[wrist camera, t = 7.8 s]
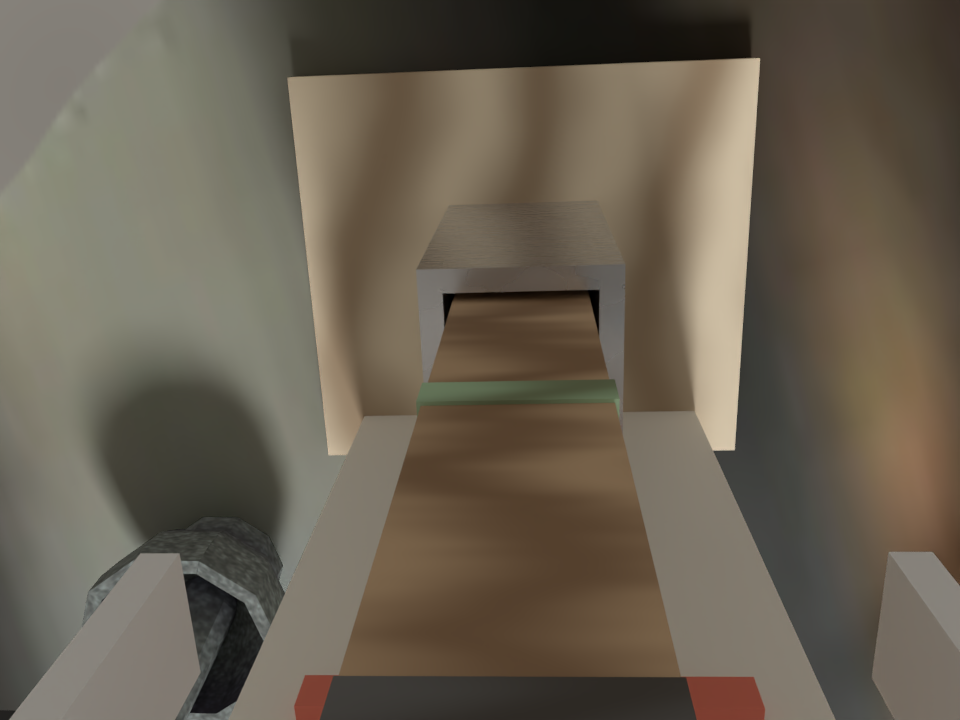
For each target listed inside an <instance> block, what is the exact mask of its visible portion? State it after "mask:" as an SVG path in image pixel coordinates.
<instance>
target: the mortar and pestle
mask: <svg viewBox="0 0 960 720" xmlns="http://www.w3.org/2000/svg"><path fill="white" fill-rule="evenodd" d="M140 553H179V554H180V559H181V565H182V570H183V576H184V582H185V587H186V593H187V599H188V604H189V610H190V615H191V621H192V627H193V632H194V638H195V644H196V649H197V655H198V660H199V666H200V672H201V673H200V675H199V676H198V678H197V680H196V682H195V684H194V686H193V687H192V689H191V691H190V693H189V695H188V697H187V699H186V700H185V702H184V704H183V706H182V708H181V710H180V711H179V713H178V715H177V717H176V719H175V720H229V717H230V715H231V713H232V711H233V708H234V706H235V704H236V702H237V700H238V697H239V695H240V693H241V691H242V688H243V686H244V684H245V682H246V679H247V677H248V675H249V673H250V671H251V668H252V666H253V664H254V662H255V659H256V657H257V655H258V653H259V650H260V648H261V646H262V644H263V642H264V639H265V637H266V635H267V633H268V630H269V628H270V626H271V624H272V621H273V619H274V617H275V615H276V613H277V610H278V608H279V606H280V604H281V601H282V599H283V597H284V595H285V593H284V591H283V588H282V586H281V584H280V582H279V578H280V575H281V571H282V567H283V565H282V563H281V561H280V559H279V557H278V554H277V552H276V550H275V548H274V546H273V544H272V542H271V540H270V538H269V536H268V535H266V534H264V533H263V532H261V531H259V530H258V529H256V528H255V527H253V526H251V525H250V524H248V523H246V522H245V521H243V520H242V519H240V518H238V517H202V518H201V519H199V520H198V521H197V522H195V523H194V524H192V525H191V526H189V527H188V528H187V529H177V530H170V531H164V532H160V533H159V534H157V535H156V536H154V537H153V538H152V539H150V540H149V541H147V542H146V543H145V544H143V545H142V546H140V547H139V548H137V549H136V550H135V551H133V552H132V553H130V554H129V555H128V556H126V557H125V558H123V559H122V560H120V561H119V562H118V563H117V564H115V565H114V566H113V567H112V568H110V569H109V570H108V571H107V572H106V573H104V574H103V575H102V576H101V577H100V578H99V579H98V581H97V582H96V583H95V584H94V586H93V587H92V588H91V589H90V590H89V592H88V596H87V601H86V607H85V612H84V618H83V624H82V627H83V626H84V624H85V623H86V622H87V620H88V619H89V618H90V617H91V615H92V614H93V613H94V612H95V610H96V609H97V608H98V607H99V605H100V604H101V603H102V601H103V600H104V599H105V598H106V596H107V595H108V594H109V593H110V591H111V590H112V589H113V588H114V586H115V585H116V584H117V583H118V581H119V580H120V579H121V577H122V576H123V575H124V574H125V572H126V571H127V570H128V569H129V567H130V566H131V565H132V564H133V562H134V561H135V560H136V558H137V557H138V556H139V555H140Z"/></svg>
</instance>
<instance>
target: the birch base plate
mask: <svg viewBox="0 0 960 720" xmlns="http://www.w3.org/2000/svg"><path fill="white" fill-rule="evenodd" d="M759 68H760V58H735V59H711V60H686V61H662V62H638V63H614V64H589V65H565V66H541V67H516V68H492V69H468V70H444V71H419V72H395V73H371V74H347V75H322V76H298V77H289V78H287V79H288V88H289V98H290V107H291V116H292V125H293V134H294V143H295V152H296V161H297V171H298V180H299V189H300V198H301V207H302V216H303V225H304V234H305V244H306V253H307V262H308V271H309V280H310V289H311V298H312V307H313V317H314V326H315V335H316V344H317V353H318V362H319V371H320V380H321V390H322V399H323V408H324V417H325V426H326V435H327V444H328V453H329V455H347V454H348V452H349V450H350V448H351V445H352V443H353V441H354V439H355V436H356V434H357V432H358V430H359V427H360V425H361V423H362V421H363V419H364V416H400V415H417V408H416V400H417V397H418V394H419V391H420V388H421V385H422V383H424V382H423V367H422V352H421V337H420V322H419V307H418V292H417V277H416V269H417V267H418V265H419V263H420V261H421V259H422V257H423V255H424V253H425V251H426V249H427V247H428V245H429V243H430V241H431V239H432V237H433V236H434V234H435V232H436V230H437V228H438V226H439V224H440V222H441V220H442V218H443V216H444V214H445V212H446V210H447V208H448V206H449V205H473V204H506V203H538V202H570V201H598V203H599V206H600V208H601V210H602V212H603V215H604V217H605V219H606V221H607V224H608V226H609V228H610V230H611V233H612V235H613V237H614V239H615V242H616V244H617V246H618V248H619V251H620V253H621V255H622V257H623V260H624V262H625V322H624V381H623V412H658V411H695V413H696V415H697V417H698V419H699V421H700V424H701V426H702V428H703V430H704V432H705V435H706V437H707V439H708V441H709V443H710V445H711V448H712V450H735V436H736V421H737V405H738V390H739V375H740V359H741V344H742V329H743V313H744V298H745V283H746V267H747V252H748V237H749V221H750V206H751V191H752V175H753V160H754V145H755V129H756V114H757V99H758V83H759Z"/></svg>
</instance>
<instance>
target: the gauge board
mask: <svg viewBox="0 0 960 720" xmlns="http://www.w3.org/2000/svg"><path fill="white" fill-rule="evenodd" d="M416 420H417V415H400V416H364V419H363V421H362V423H361V425H360V427H359V430H358V432H357V434H356V436H355V439H354V441H353V443H352V445H351V448H350V450H349V452H348V454H347V456H346V459H345V461H344V463H343V465H342V468H341V470H340V472H339V474H338V477H337V479H336V481H335V483H334V485H333V488H332V490H331V492H330V494H329V497H328V499H327V501H326V503H325V506H324V508H323V510H322V512H321V514H320V517H319V519H318V521H317V523H316V526H315V528H314V530H313V532H312V535H311V537H310V539H309V541H308V543H307V546H306V548H305V550H304V552H303V555H302V557H301V559H300V561H299V564H298V566H297V568H296V570H295V572H294V575H293V577H292V579H291V581H290V584H289V586H288V588H287V590H286V593H285V595H284V597H283V599H282V601H281V604H280V606H279V608H278V610H277V613H276V615H275V617H274V619H273V621H272V624H271V626H270V628H269V630H268V633H267V635H266V637H265V639H264V642H263V644H262V646H261V648H260V650H259V653H258V655H257V657H256V659H255V662H254V664H253V666H252V668H251V671H250V673H249V675H248V677H247V679H246V682H245V684H244V686H243V688H242V691H241V693H240V695H239V697H238V700H237V702H236V704H235V706H234V708H233V711H232V713H231V715H230V717H229V720H320V717H321V714H322V710H323V707H324V704H325V701H326V698H327V694H328V691H329V688H330V685H331V682H332V678H333V676H339V672H340V669H341V666H342V663H343V659H344V656H345V653H346V649H347V646H348V643H349V640H350V636H351V633H352V630H353V626H354V623H355V620H356V617H357V613H358V610H359V607H360V603H361V600H362V597H363V594H364V590H365V587H366V584H367V580H368V577H369V574H370V571H371V567H372V564H373V561H374V557H375V554H376V551H377V548H378V544H379V541H380V538H381V534H382V531H383V528H384V525H385V521H386V518H387V515H388V512H389V508H390V505H391V502H392V498H393V495H394V492H395V489H396V485H397V482H398V479H399V475H400V472H401V469H402V466H403V462H404V459H405V456H406V452H407V449H408V446H409V443H410V439H411V436H412V433H413V429H414V426H415V423H416ZM623 438H624V442H625V446H626V450H627V455H628V459H629V463H630V467H631V471H632V475H633V479H634V484H635V488H636V492H637V496H638V500H639V504H640V509H641V513H642V517H643V521H644V525H645V529H646V533H647V538H648V542H649V546H650V550H651V554H652V558H653V562H654V567H655V571H656V575H657V579H658V583H659V587H660V592H661V596H662V600H663V604H664V608H665V612H666V616H667V621H668V625H669V629H670V633H671V637H672V641H673V646H674V650H675V654H676V658H677V662H678V666H679V670H680V675H681V677H686V679H687V683H688V687H689V691H690V695H691V699H692V703H693V707H694V711H695V715H696V719H697V720H835V718H834V716H833V713H832V711H831V709H830V707H829V705H828V702H827V700H826V698H825V696H824V694H823V692H822V689H821V687H820V685H819V683H818V681H817V678H816V676H815V674H814V672H813V670H812V667H811V665H810V663H809V661H808V659H807V656H806V654H805V652H804V650H803V648H802V645H801V643H800V641H799V639H798V637H797V634H796V632H795V630H794V628H793V626H792V623H791V621H790V619H789V617H788V615H787V612H786V610H785V608H784V606H783V604H782V601H781V599H780V597H779V595H778V593H777V590H776V588H775V586H774V584H773V582H772V579H771V577H770V575H769V573H768V571H767V568H766V566H765V564H764V562H763V560H762V558H761V555H760V553H759V551H758V549H757V547H756V544H755V542H754V540H753V538H752V536H751V533H750V531H749V529H748V527H747V525H746V522H745V520H744V518H743V516H742V514H741V511H740V509H739V507H738V505H737V503H736V500H735V498H734V496H733V494H732V492H731V489H730V487H729V485H728V483H727V481H726V478H725V476H724V474H723V472H722V470H721V467H720V465H719V463H718V461H717V459H716V456H715V454H714V452H713V450H712V448H711V445H710V443H709V441H708V439H707V437H706V435H705V432H704V430H703V428H702V426H701V424H700V421H699V419H698V417H697V415H696V413H695V411H658V412H623Z"/></svg>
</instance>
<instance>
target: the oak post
mask: <svg viewBox="0 0 960 720" xmlns="http://www.w3.org/2000/svg"><path fill="white" fill-rule="evenodd" d="M619 401H620V398H619V394H618V391H617V387H616V383H615V379H609V376H608V372H607V367H606V363H605V359H604V355H603V351H602V347H601V342H600V338H599V334H598V330H597V326H596V322H595V318H594V313H593V309H592V305H591V301H590V297H589V293H588V290H561V291H521V292H480V293H455V295H454V298H453V301H452V305H451V308H450V311H449V314H448V318H447V321H446V324H445V328H444V331H443V334H442V337H441V341H440V344H439V347H438V351H437V354H436V357H435V360H434V364H433V367H432V370H431V374H430V377H429V380H428V383H422V385H421V388H420V391H419V394H418V397H417V400H416V408H417V420H416V423H415V426H414V429H413V433H412V436H411V439H410V443H409V446H408V449H407V452H406V456H405V459H404V462H403V466H402V469H401V472H400V475H399V479H398V482H397V485H396V489H395V492H394V495H393V498H392V502H391V505H390V508H389V512H388V515H387V518H386V521H385V525H384V528H383V531H382V534H381V538H380V541H379V544H378V548H377V551H376V554H375V557H374V561H373V564H372V567H371V571H370V574H369V577H368V580H367V584H366V587H365V590H364V594H363V597H362V600H361V603H360V607H359V610H358V613H357V617H356V620H355V623H354V626H353V630H352V633H351V636H350V640H349V643H348V646H347V649H346V653H345V656H344V659H343V663H342V666H341V669H340V672H339V676H333V678H332V682H331V685H330V688H329V691H328V694H327V698H326V701H325V704H324V707H323V710H322V714H321V717H320V720H697V719H696V715H695V711H694V707H693V703H692V699H691V695H690V691H689V687H688V683H687V679H686V677H681V675H680V670H679V666H678V662H677V658H676V654H675V650H674V646H673V641H672V637H671V633H670V629H669V625H668V621H667V616H666V612H665V608H664V604H663V600H662V596H661V592H660V587H659V583H658V579H657V575H656V571H655V567H654V562H653V558H652V554H651V550H650V546H649V542H648V538H647V533H646V529H645V525H644V521H643V517H642V513H641V509H640V504H639V500H638V496H637V492H636V488H635V484H634V479H633V475H632V471H631V467H630V463H629V459H628V455H627V450H626V446H625V442H624V438H623V434H622V430H621V426H620V421H619Z"/></svg>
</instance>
